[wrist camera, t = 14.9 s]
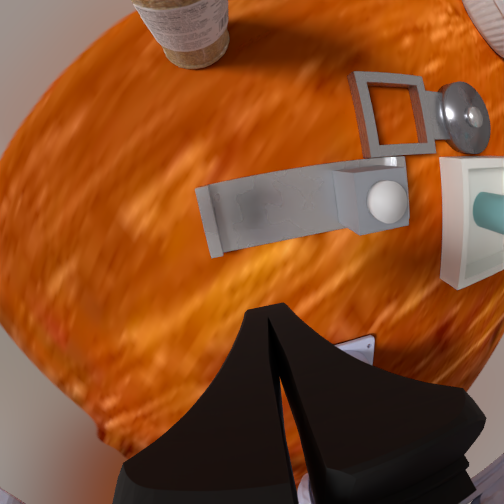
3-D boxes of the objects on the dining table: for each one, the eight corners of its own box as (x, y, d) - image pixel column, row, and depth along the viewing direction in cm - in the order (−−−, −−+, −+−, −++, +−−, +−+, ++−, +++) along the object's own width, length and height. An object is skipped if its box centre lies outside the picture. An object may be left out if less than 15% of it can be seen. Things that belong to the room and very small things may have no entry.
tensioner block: (482, 152, 18) (499, 154, 15) (363, 159, 18) (379, 159, 15) (471, 88, 16) (488, 86, 13) (346, 74, 16) (360, 65, 13)
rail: (401, 215, 19) (409, 218, 18) (212, 252, 19) (211, 258, 18) (396, 156, 18) (404, 156, 17) (197, 187, 18) (194, 188, 17)
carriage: (382, 214, 18) (415, 228, 14) (338, 222, 18) (365, 239, 14) (377, 165, 17) (412, 168, 13) (332, 170, 17) (359, 173, 13)
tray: (501, 254, 21) (517, 262, 19) (439, 278, 21) (457, 290, 19) (503, 156, 18) (521, 158, 15) (439, 157, 18) (461, 158, 15)
